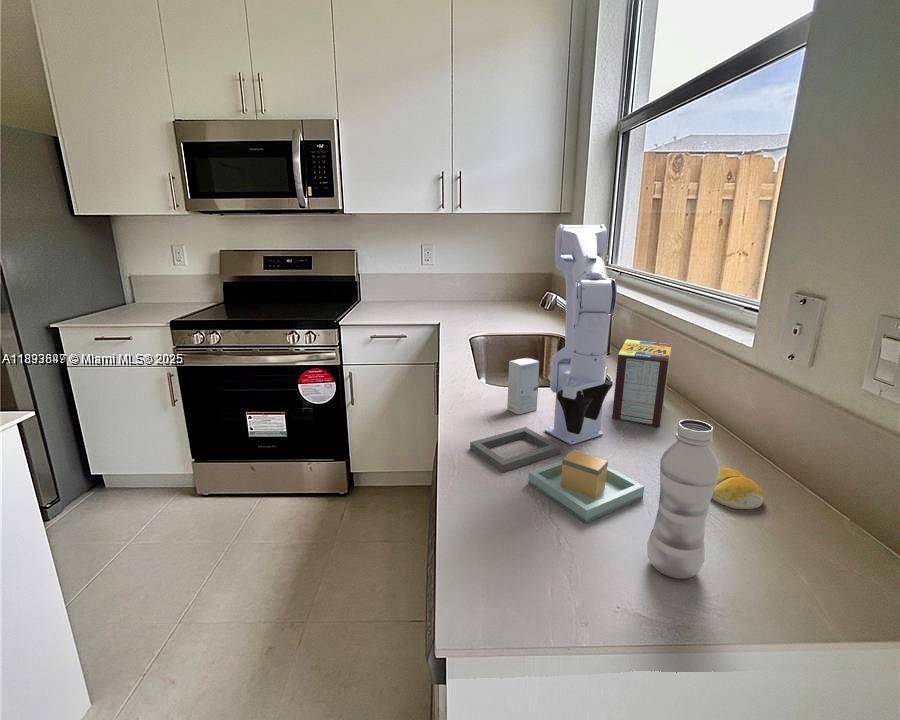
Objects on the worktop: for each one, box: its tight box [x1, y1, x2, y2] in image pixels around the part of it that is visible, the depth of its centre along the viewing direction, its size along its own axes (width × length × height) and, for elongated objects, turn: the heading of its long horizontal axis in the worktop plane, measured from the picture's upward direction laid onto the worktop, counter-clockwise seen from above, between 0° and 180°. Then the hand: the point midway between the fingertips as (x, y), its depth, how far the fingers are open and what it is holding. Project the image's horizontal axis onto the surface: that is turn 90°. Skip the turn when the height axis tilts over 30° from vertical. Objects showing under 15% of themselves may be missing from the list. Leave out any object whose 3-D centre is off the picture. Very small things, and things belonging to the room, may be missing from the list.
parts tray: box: [528, 460, 645, 524], centre depth 78 cm, size 13×13×2 cm
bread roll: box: [711, 467, 766, 510], centre depth 77 cm, size 8×9×4 cm
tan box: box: [561, 449, 609, 498], centre depth 78 cm, size 4×6×5 cm
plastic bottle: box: [646, 419, 721, 580], centre depth 58 cm, size 6×7×20 cm
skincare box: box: [506, 357, 540, 415], centre depth 111 cm, size 6×4×12 cm
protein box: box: [611, 339, 672, 428], centre depth 109 cm, size 10×15×16 cm
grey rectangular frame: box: [469, 426, 562, 473], centre depth 92 cm, size 14×10×2 cm
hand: (582, 425), depth 83 cm, fingers open, 7 cm apart
